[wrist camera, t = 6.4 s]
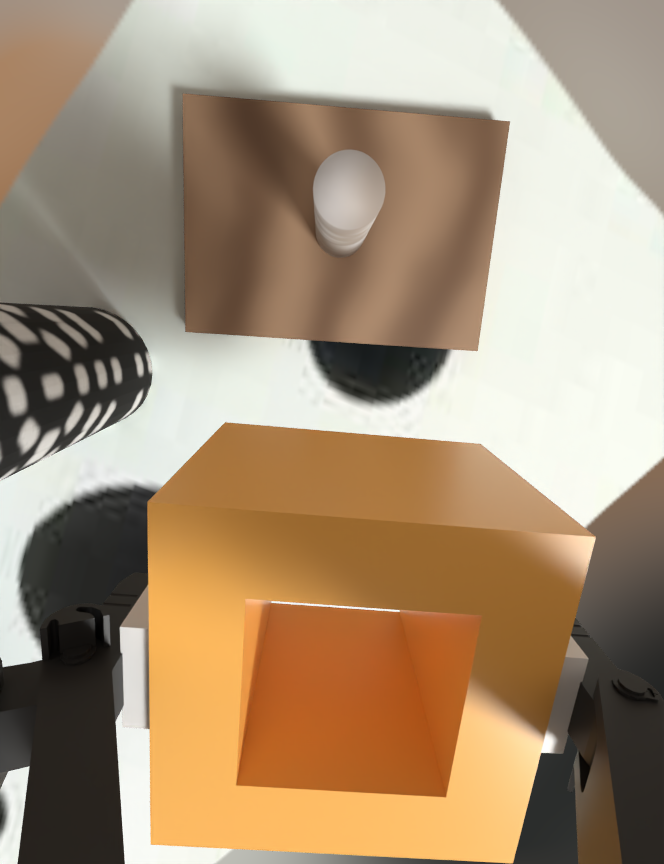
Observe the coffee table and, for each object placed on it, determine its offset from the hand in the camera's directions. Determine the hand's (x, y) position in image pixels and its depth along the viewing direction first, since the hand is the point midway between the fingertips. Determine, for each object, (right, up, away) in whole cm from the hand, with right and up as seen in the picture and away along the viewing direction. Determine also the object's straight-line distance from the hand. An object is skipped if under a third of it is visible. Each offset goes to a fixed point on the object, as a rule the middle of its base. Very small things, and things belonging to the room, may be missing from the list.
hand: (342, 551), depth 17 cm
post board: (0, +18, +14) cm, 23 cm away
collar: (0, 0, 0) cm, 0 cm away
